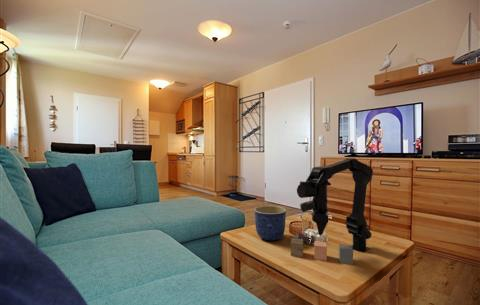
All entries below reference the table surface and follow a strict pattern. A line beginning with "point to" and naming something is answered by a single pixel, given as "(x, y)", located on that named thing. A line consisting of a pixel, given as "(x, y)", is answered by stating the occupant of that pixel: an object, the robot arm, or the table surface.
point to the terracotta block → (320, 250)
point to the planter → (270, 222)
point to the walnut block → (297, 247)
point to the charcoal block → (346, 254)
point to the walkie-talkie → (302, 237)
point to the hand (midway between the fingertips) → (320, 231)
